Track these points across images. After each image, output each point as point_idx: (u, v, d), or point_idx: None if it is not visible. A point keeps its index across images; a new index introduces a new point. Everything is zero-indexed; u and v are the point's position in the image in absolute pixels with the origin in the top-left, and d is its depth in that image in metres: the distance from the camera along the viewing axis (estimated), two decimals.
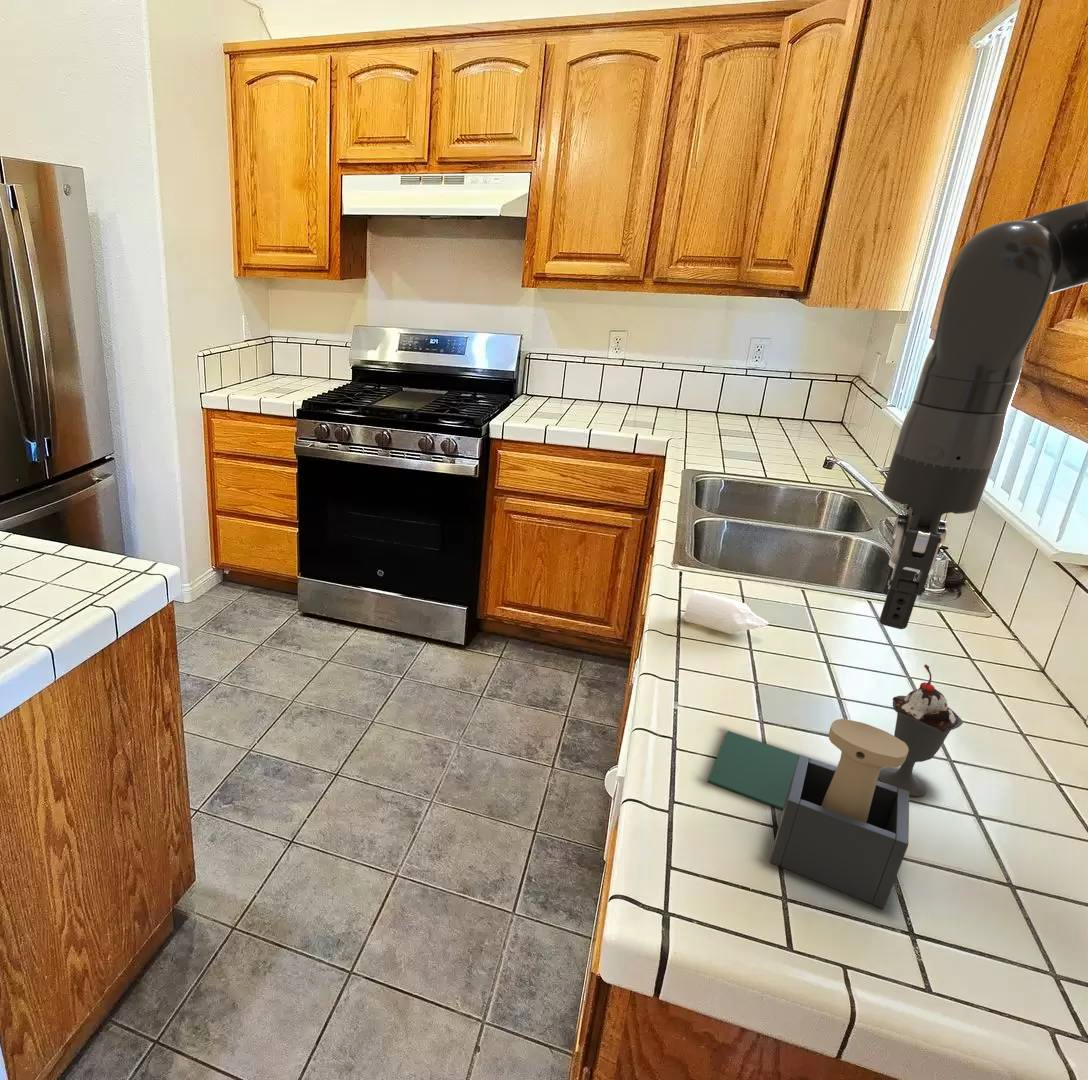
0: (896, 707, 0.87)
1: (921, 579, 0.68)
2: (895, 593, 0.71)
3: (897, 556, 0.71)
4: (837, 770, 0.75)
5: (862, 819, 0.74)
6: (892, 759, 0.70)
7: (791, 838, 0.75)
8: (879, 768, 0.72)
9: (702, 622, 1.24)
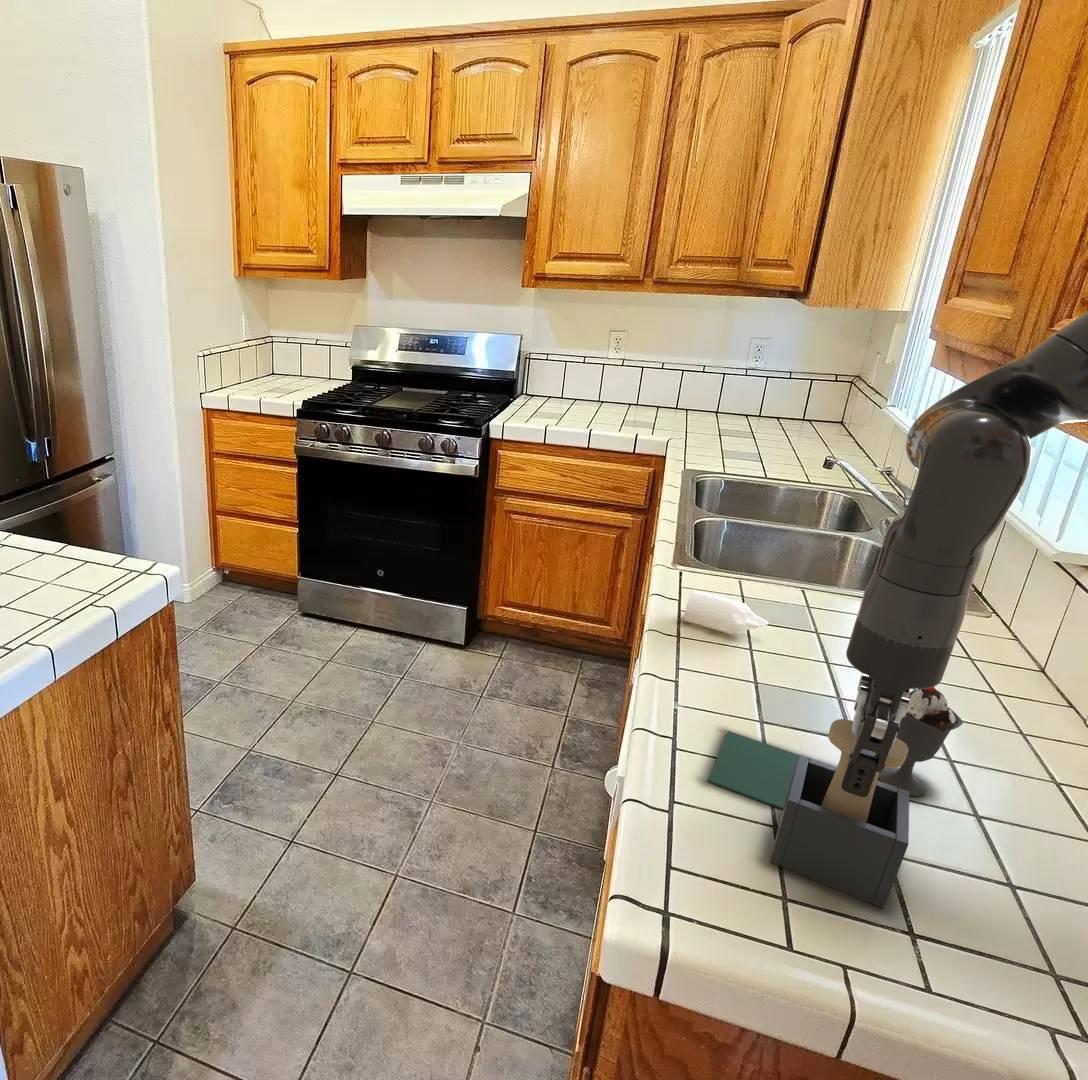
0: None
1: (880, 761, 0.67)
2: (856, 764, 0.70)
3: (858, 727, 0.70)
4: (837, 770, 0.75)
5: (862, 819, 0.74)
6: (892, 759, 0.70)
7: (791, 838, 0.75)
8: None
9: (702, 622, 1.24)
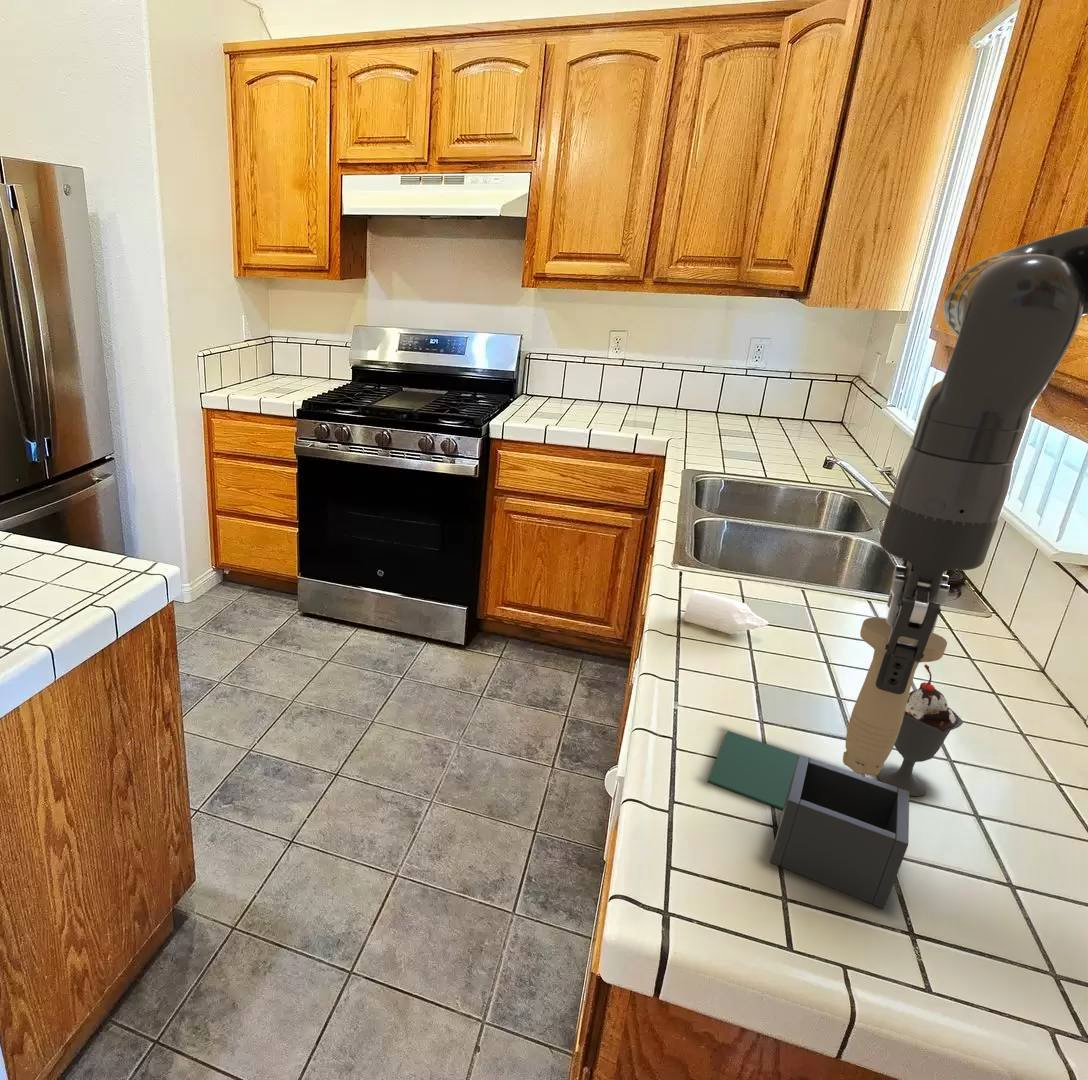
0: None
1: (919, 648, 0.63)
2: (892, 657, 0.66)
3: (894, 618, 0.66)
4: (870, 671, 0.71)
5: (897, 721, 0.70)
6: (930, 652, 0.66)
7: (791, 838, 0.75)
8: (915, 664, 0.68)
9: (702, 622, 1.24)
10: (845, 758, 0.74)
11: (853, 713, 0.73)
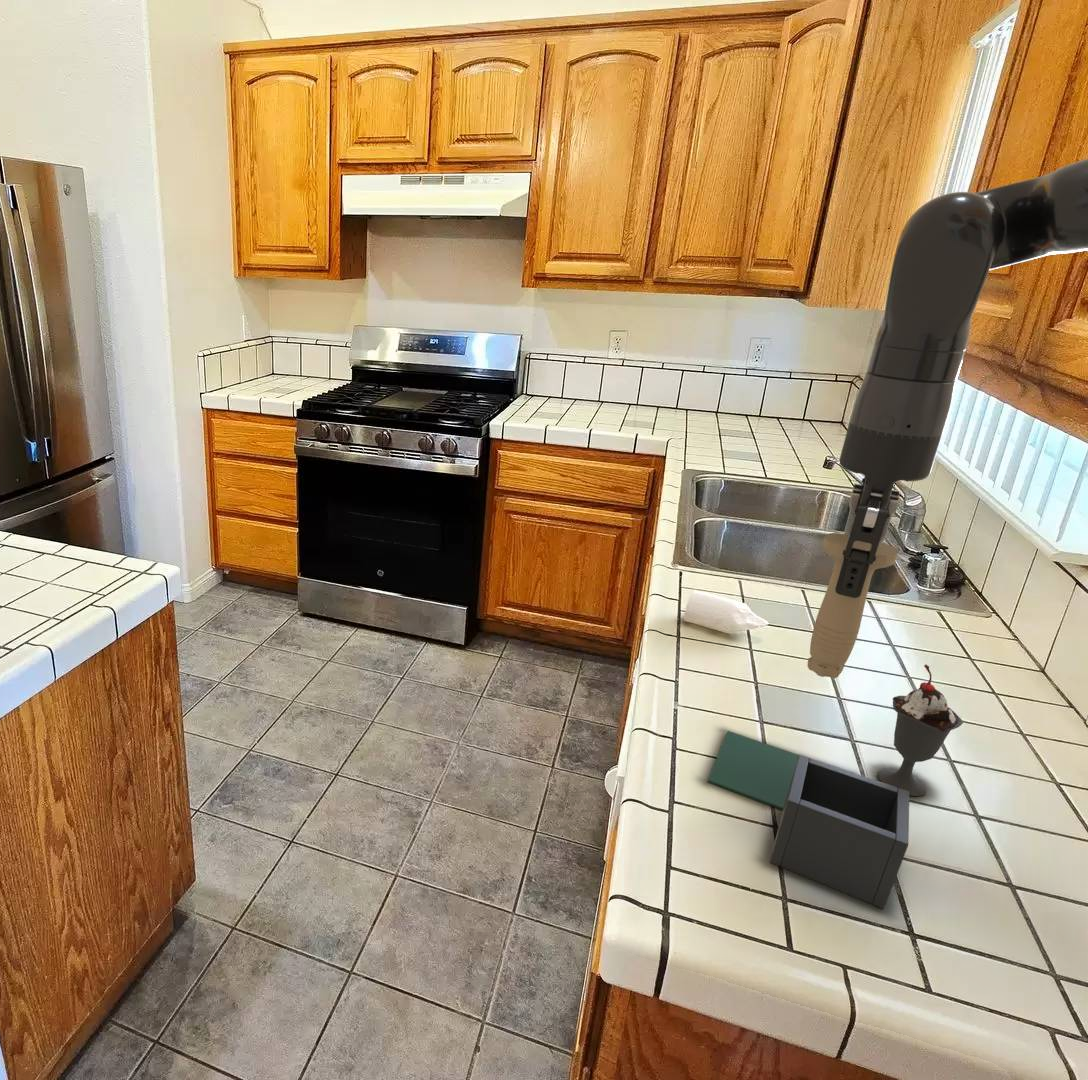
0: (896, 707, 0.87)
1: (871, 551, 0.71)
2: (849, 563, 0.74)
3: (851, 528, 0.74)
4: (831, 580, 0.78)
5: (855, 625, 0.78)
6: (883, 558, 0.74)
7: (791, 838, 0.75)
8: (870, 571, 0.76)
9: (702, 622, 1.24)
10: (809, 663, 0.82)
11: (816, 621, 0.80)
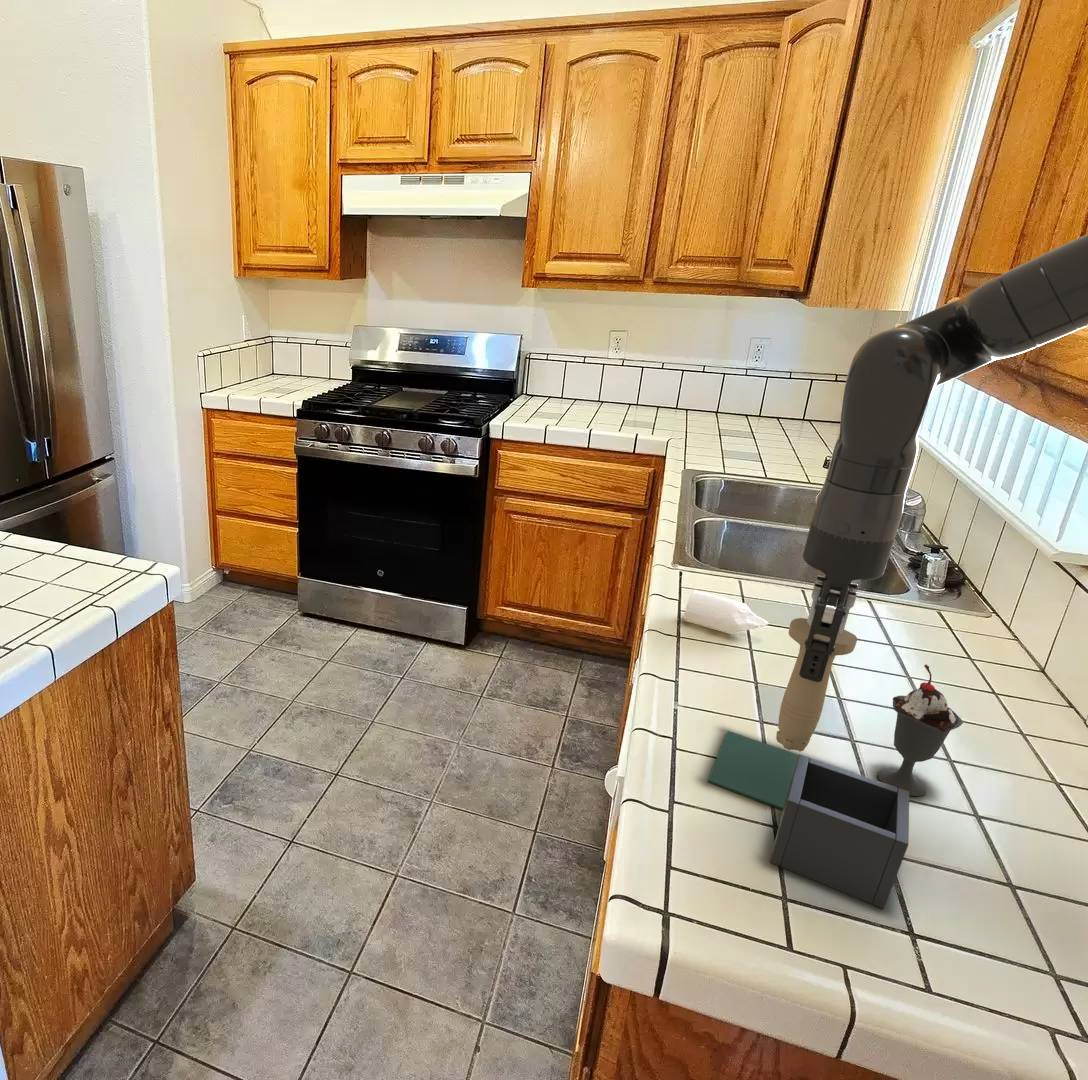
0: (896, 707, 0.87)
1: (830, 644, 0.77)
2: (811, 651, 0.80)
3: (813, 619, 0.80)
4: (796, 662, 0.85)
5: (818, 705, 0.84)
6: (842, 646, 0.80)
7: (791, 838, 0.75)
8: (832, 657, 0.82)
9: (702, 622, 1.24)
10: (778, 736, 0.88)
11: (784, 698, 0.87)
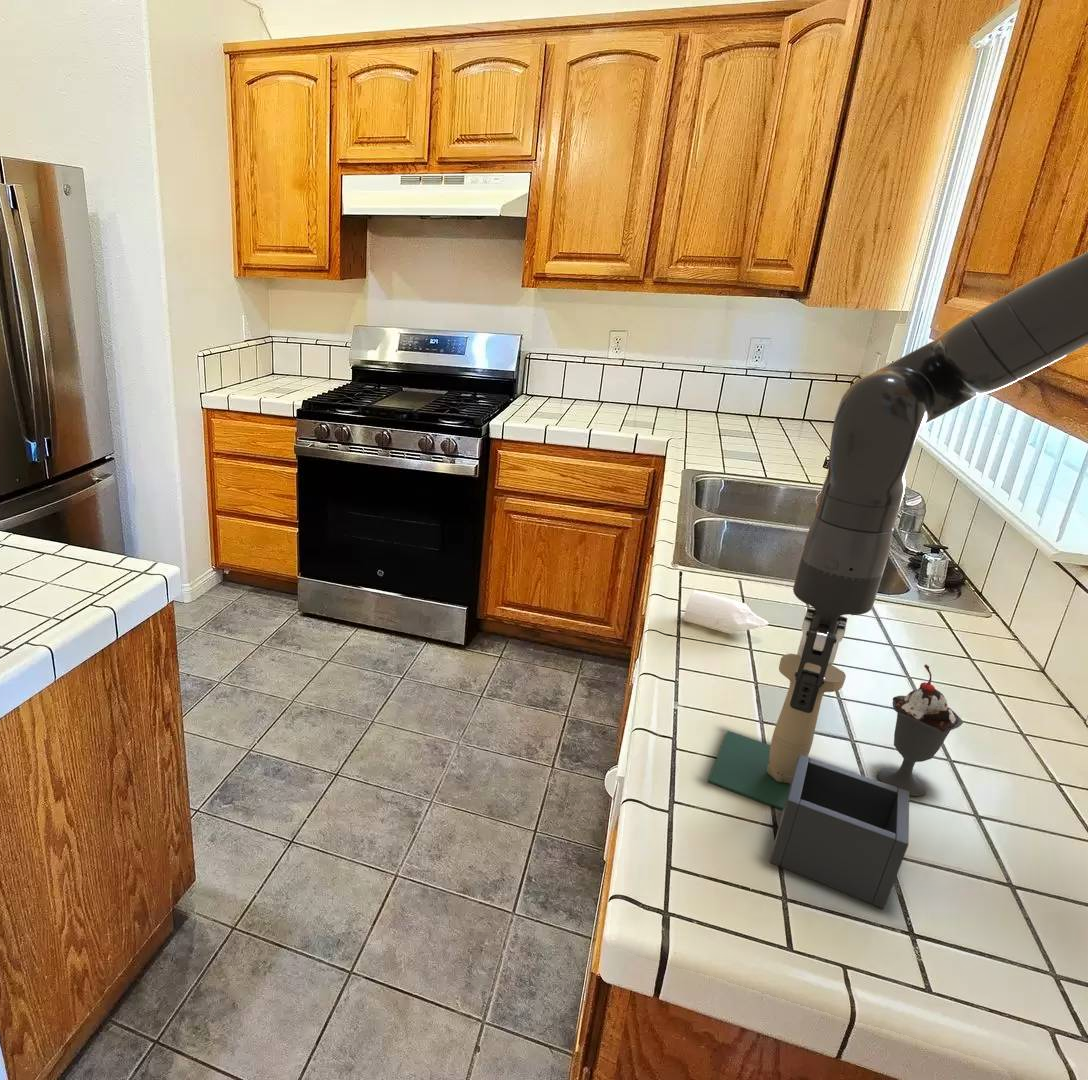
0: (896, 707, 0.87)
1: (820, 673, 0.77)
2: (801, 682, 0.80)
3: (803, 649, 0.81)
4: (786, 698, 0.86)
5: (808, 739, 0.86)
6: (831, 684, 0.82)
7: (791, 838, 0.75)
8: (821, 693, 0.84)
9: (702, 622, 1.24)
10: (769, 769, 0.90)
11: (774, 732, 0.88)
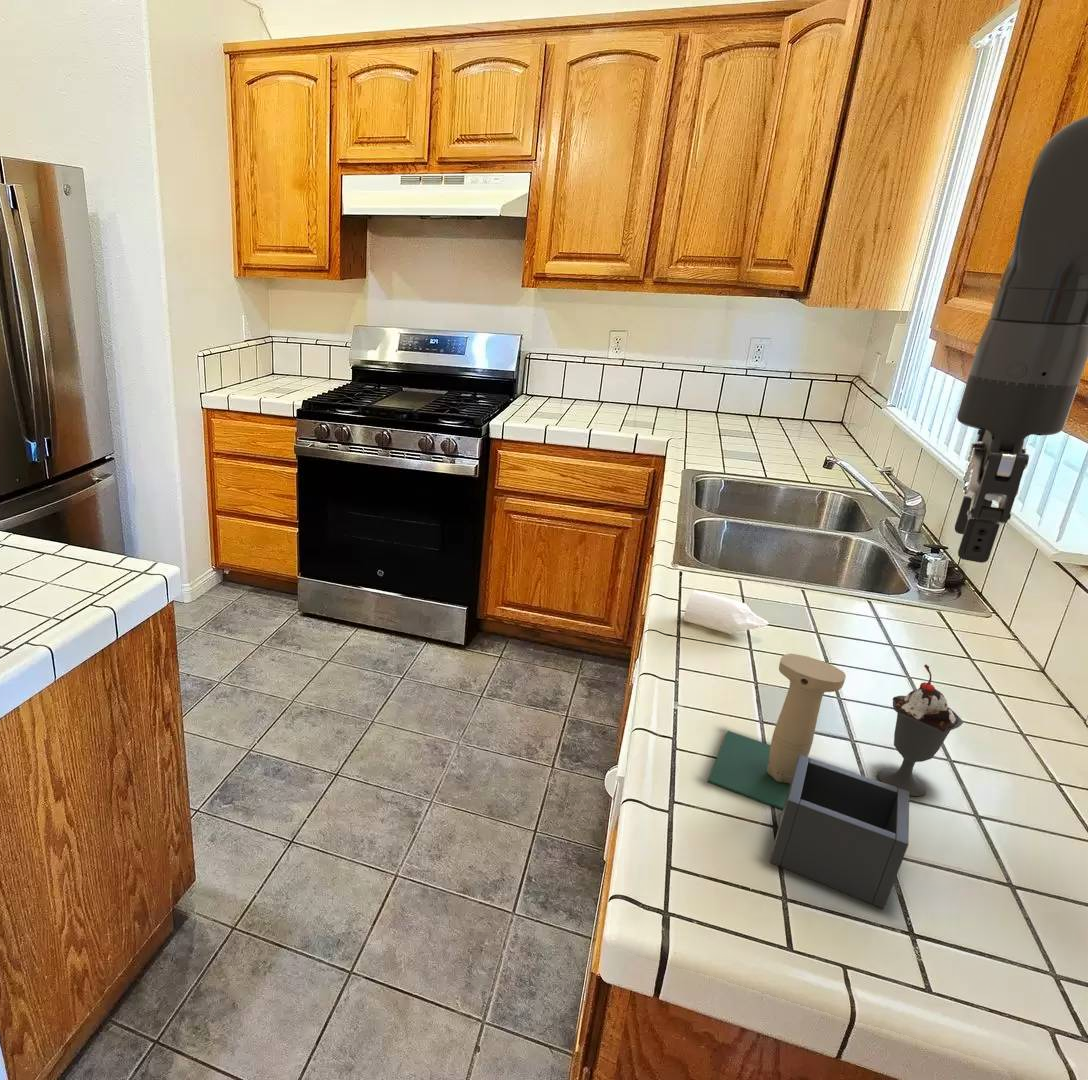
0: (896, 707, 0.87)
1: (1007, 505, 0.64)
2: (976, 523, 0.67)
3: (976, 484, 0.67)
4: (786, 697, 0.86)
5: (808, 739, 0.86)
6: (831, 684, 0.82)
7: (791, 838, 0.75)
8: (821, 693, 0.84)
9: (702, 622, 1.24)
10: (769, 769, 0.90)
11: (774, 732, 0.88)
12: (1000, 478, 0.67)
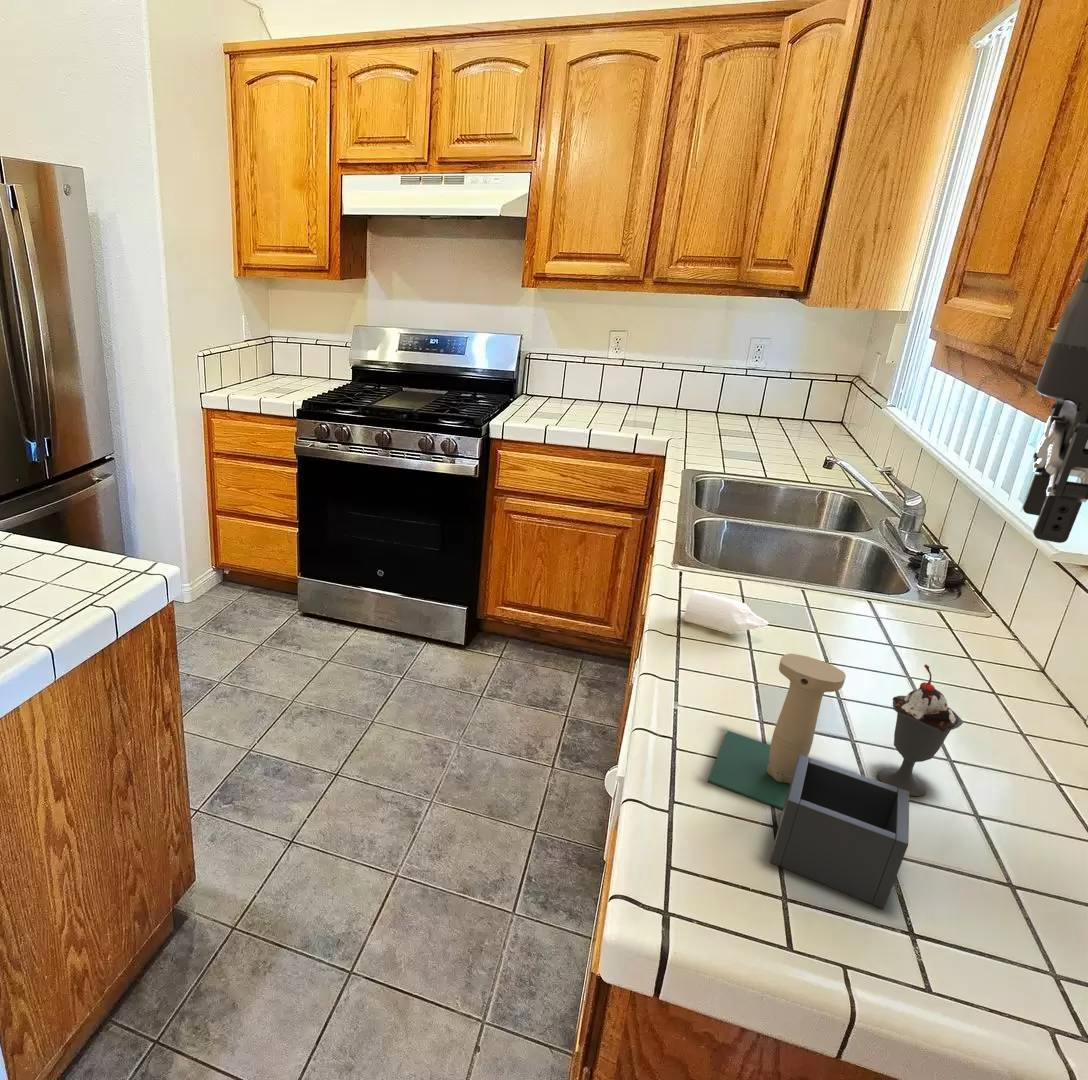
0: (896, 707, 0.87)
1: None
2: (1057, 500, 0.63)
3: (1058, 459, 0.63)
4: (786, 697, 0.86)
5: (808, 739, 0.86)
6: (831, 684, 0.82)
7: (791, 838, 0.75)
8: (821, 693, 0.84)
9: (702, 622, 1.24)
10: (769, 769, 0.90)
11: (774, 732, 0.88)
12: (1084, 453, 0.63)
